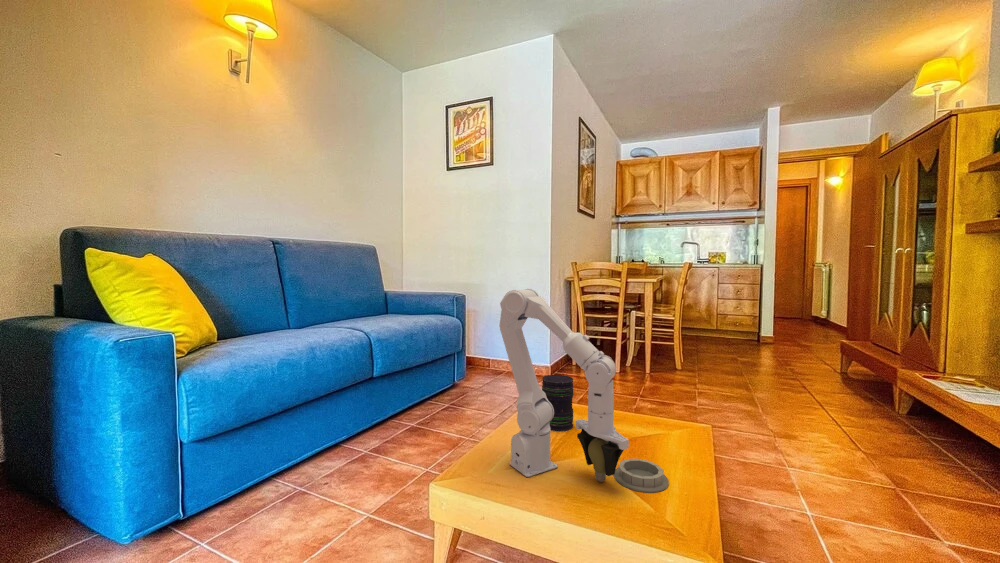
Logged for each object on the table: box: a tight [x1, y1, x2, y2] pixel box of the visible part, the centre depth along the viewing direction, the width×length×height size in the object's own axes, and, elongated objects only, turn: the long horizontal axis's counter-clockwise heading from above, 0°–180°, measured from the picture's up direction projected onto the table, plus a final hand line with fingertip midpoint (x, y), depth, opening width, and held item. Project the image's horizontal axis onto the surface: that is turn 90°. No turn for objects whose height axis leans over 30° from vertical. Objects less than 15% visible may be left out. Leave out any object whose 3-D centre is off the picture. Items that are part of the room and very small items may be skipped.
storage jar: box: [541, 374, 574, 432], centre depth 126 cm, size 10×10×15 cm
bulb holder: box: [613, 458, 670, 494], centre depth 93 cm, size 12×12×2 cm
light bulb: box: [588, 438, 608, 483], centre depth 92 cm, size 6×6×10 cm
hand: (600, 469), depth 92 cm, fingers closed on light bulb, 5 cm apart
